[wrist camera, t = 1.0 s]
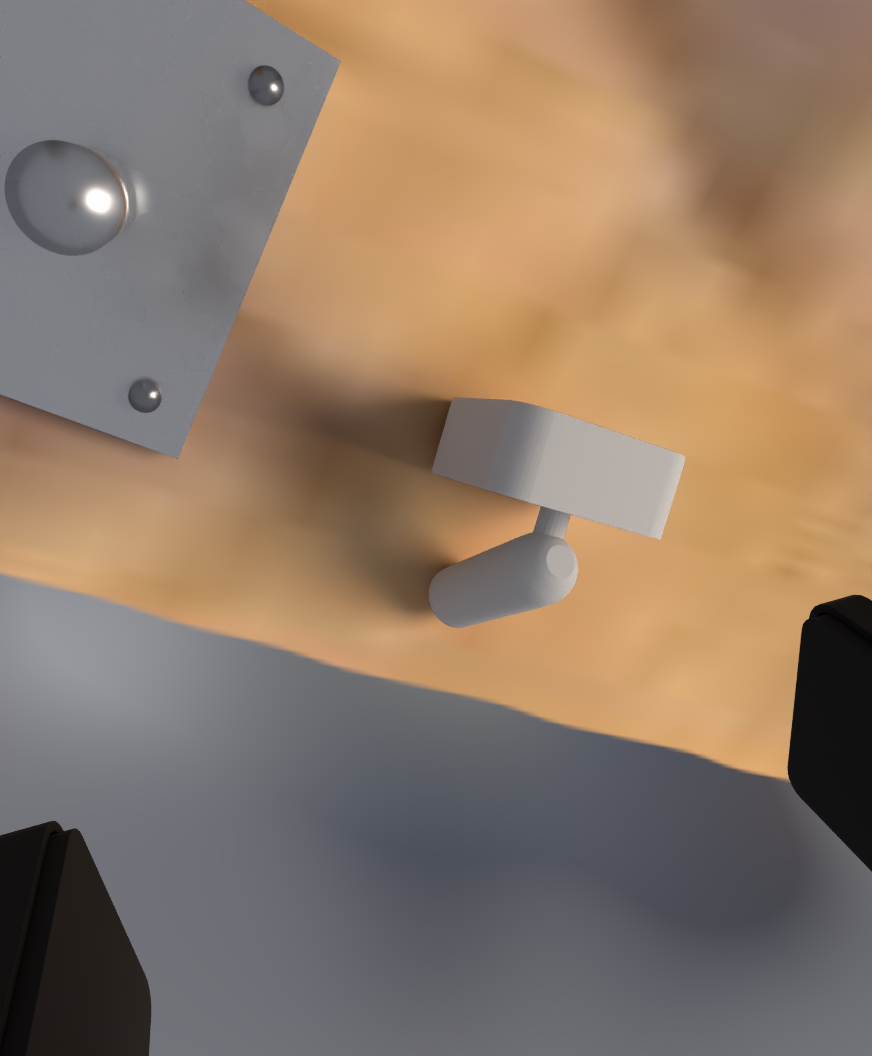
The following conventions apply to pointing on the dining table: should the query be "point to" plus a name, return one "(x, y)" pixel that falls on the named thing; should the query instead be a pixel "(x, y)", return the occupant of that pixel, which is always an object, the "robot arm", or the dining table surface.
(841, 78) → the dining table surface
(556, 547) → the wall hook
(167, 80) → the keeper
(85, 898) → the robot arm
